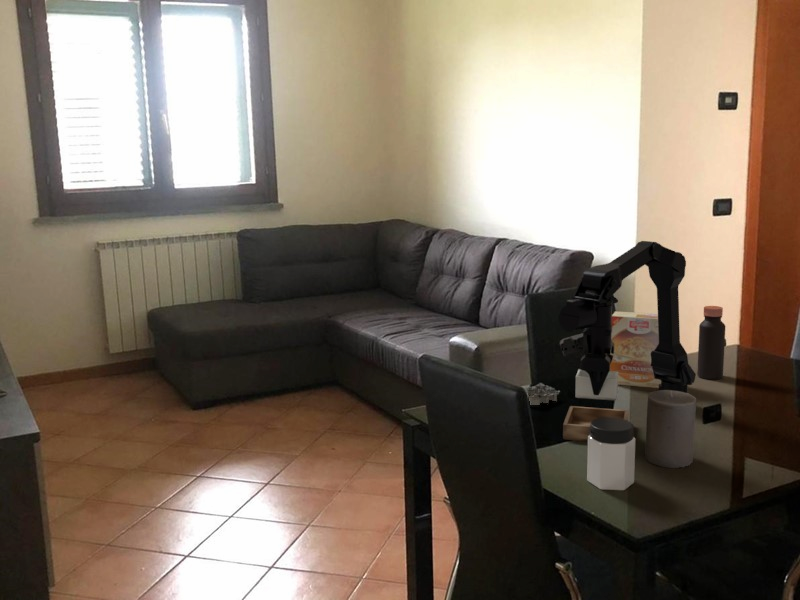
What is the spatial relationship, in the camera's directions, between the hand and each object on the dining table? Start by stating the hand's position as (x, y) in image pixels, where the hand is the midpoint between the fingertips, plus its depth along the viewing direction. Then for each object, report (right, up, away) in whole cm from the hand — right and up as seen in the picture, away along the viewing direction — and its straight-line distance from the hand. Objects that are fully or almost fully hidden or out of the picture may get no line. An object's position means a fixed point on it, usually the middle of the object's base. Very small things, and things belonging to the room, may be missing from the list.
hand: (597, 390), depth 182 cm
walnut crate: (0, -10, +2) cm, 10 cm away
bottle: (+42, -1, +43) cm, 60 cm away
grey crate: (0, -1, 0) cm, 1 cm away
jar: (-4, -15, -26) cm, 30 cm away
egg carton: (-10, -6, +25) cm, 27 cm away
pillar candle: (+11, -13, -15) cm, 23 cm away
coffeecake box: (+21, -2, +38) cm, 44 cm away
